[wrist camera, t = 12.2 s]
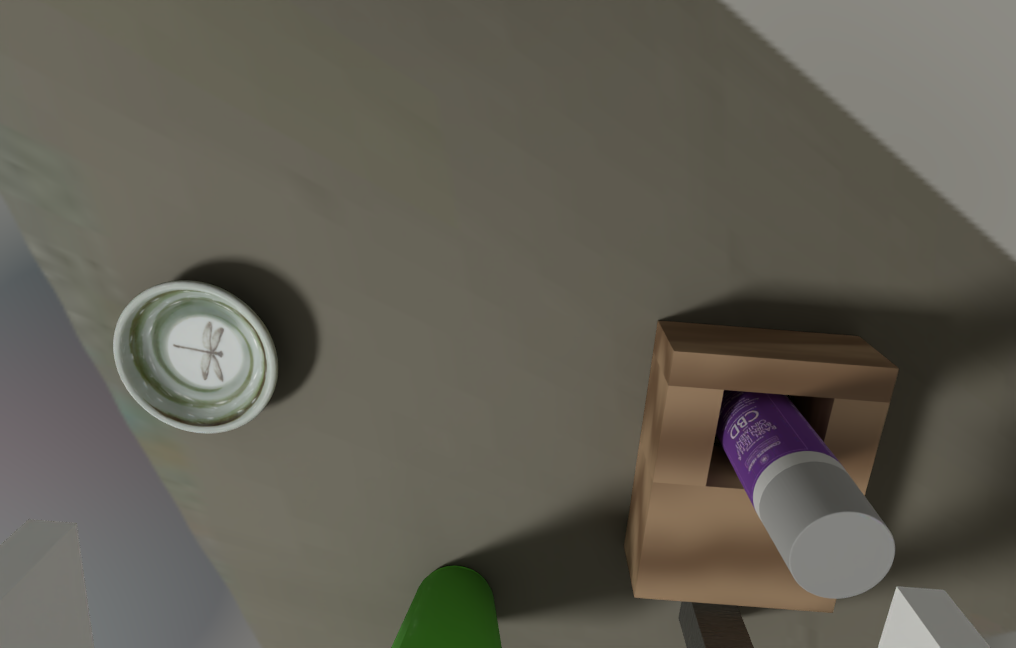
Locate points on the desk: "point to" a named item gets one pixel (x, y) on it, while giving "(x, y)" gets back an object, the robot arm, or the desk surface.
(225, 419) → the saucer
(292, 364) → the desk surface
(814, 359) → the socket block
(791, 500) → the container
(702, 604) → the grey flat-topped post
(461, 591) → the cup
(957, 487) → the desk surface
